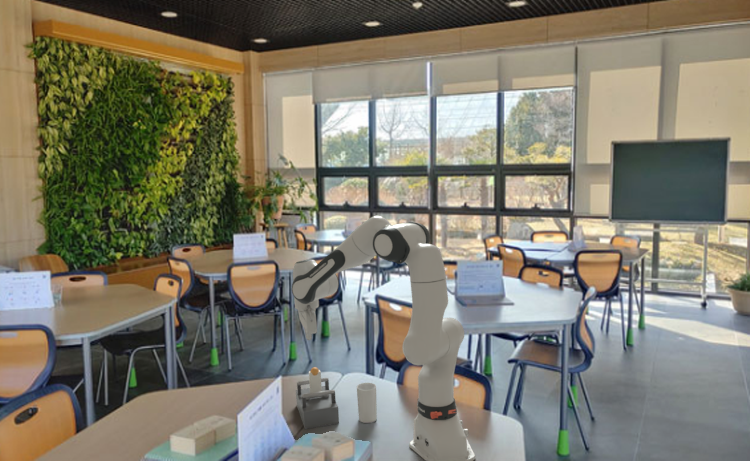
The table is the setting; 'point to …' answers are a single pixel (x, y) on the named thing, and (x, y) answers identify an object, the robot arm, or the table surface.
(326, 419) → the grey lever base
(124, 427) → the table surface
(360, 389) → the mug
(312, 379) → the lever
